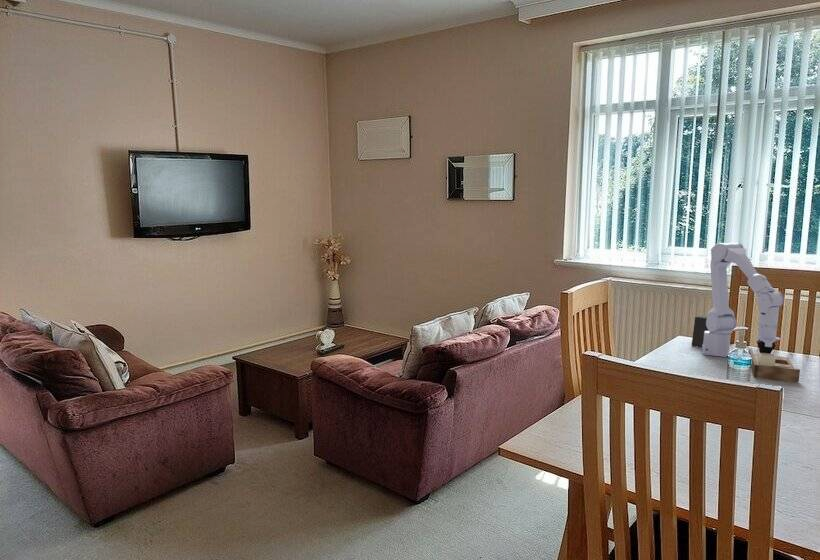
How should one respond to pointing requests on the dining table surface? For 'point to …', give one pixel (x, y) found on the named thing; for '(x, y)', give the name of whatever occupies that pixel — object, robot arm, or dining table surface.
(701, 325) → the phone stand
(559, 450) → the dining table surface
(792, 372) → the trap board
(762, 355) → the cream block
